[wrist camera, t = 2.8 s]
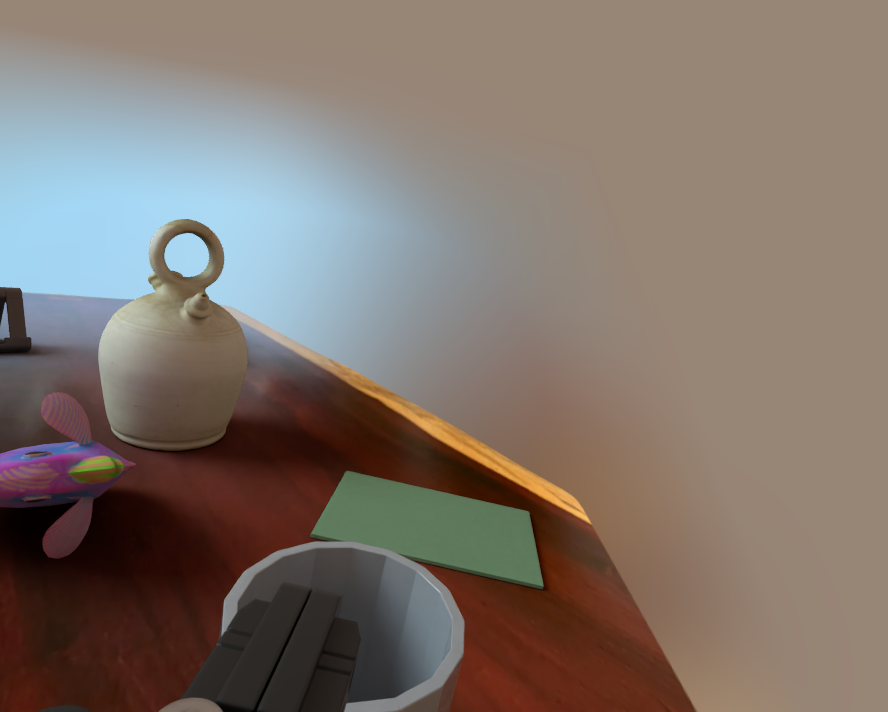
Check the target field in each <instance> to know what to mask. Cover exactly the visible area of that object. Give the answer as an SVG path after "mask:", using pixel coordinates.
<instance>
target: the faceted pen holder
mask: <svg viewBox="0 0 888 712" xmlns="http://www.w3.org/2000/svg"><path fill="white" fill-rule="evenodd" d="M283 582H287V583H291V584H295V585H300V586H304V587H308V588H312V591H313V590H314V589H318V590H322V591H326V592H331V593H335V594H339V595H343V598H342V604H341V609H340V614H339V618H341V619H345V620H350V621H354V622H357V625H358V629H359V634H360V638H361V641H360V646H359V651H358V656H357V660H356V665H355V670H354V674H353V679H352V684H351V688H350V693H349V696H348V700H347V703H346V707H345V711H344V712H449V709H450V705H451V701H452V697H453V693H454V689H455V686H456V682H457V678H458V674H459V670H460V666H461V663H462V659H463V655H464V625H465V622H464V619H463V617H462V615H461V613H460V611H459V609H458V607H457V605H456V603H455V601H454V599H453V597H452V595H451V593H450V591H449V589H448V588H446V587H445V586H444V585H443V584H442V583H441V582H440V581H439V580H438V579H437V578H436V577H435V576H433V575H432V574H431V573H430V572H429V571H428V570H427V569H426V568H425V567H423V566H421V565H419V564H417V563H415V562H413V561H411V560H409V559H407V558H405V557H403V556H401V555H399V554H397V553H395V552H393V551H391V550H388V549H384V548H379V547H375V546H370V545H366V544H361V543H357V542H351V541H349V542H311V543H307V544H303V545H299V546H295V547H291V548H287V549H283V550H279V551H277V552H274V553H273V554H271V555H270V556H268V557H266V558H265V559H263V560H261V561H260V562H258V563H257V564H255V565H253V566H252V567H250V568H249V569H247V570H246V571H244V572H243V574H242V575H241V577H240V578H239V580H238V581H237V582H236V584H235V585H234V587H233V588H232V590H231V591H230V592H229V594H228V595H227V597H226V598H225V600H224V604H223V611H222V618H221V625H220V632H219V639H220V638H221V636H222V635H223V633H224V632H226V629H227V627H228V626H229V624H230V622H231V621H232V619H233V618H234V616H235V615H236V613H237V612H238V611H239V610H240V609H242V608H243V607H244V606H246V605H247V604H249V603H250V602H252V601H253V600H254V599H258V600H262V601H267V602H272V600H273V598H274V596H275V595H276V593H277V591H278V589H279V587H280V586H281V584H282V583H283ZM219 639H218V641H219Z"/></svg>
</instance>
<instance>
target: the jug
mask: <svg viewBox="0 0 888 712" xmlns="http://www.w3.org/2000/svg"><path fill="white" fill-rule="evenodd" d="M183 233H193V234H195V235H197V236H198V237H200V238H201V239H202V240H203V241H204V242H205V244H206V246H207V248H208V251H209V263H208V266H207V268H206V269H205V270H204V272H202V273H201V274H199V275H197V276H194V277H183V276H182V274H180V273H178V272H175V271H170V270H169V268H168V267H167V265H166V263H165V260H164V252H165V248H166V246H167V244H168V242H169V241H170V240H171V239H172V238H174V237H175V236H177V235H179V234H183ZM149 260H150V264H151V267H152V269H153V271H154V273H152V274H151V275H149V277H148V281H149V283H150V284H152V286H153V288H154V290H155V291H156V293H152V294H148V295H145V296H143V297H140V298H138V299H136V300H134V301H132V302H130V303H128V304H127V305H125V306H123V307H122V308H120V309H119V310H118V311H117V312H116V313H115V314H114V315H113V316H112V318H111V320H110V321H109V322H108V324H107V326H106V328H105V330H104V332H103V334H102V337H101V340H100V344H99V351H98V359H99V368H100V376H101V383H102V390H103V396H104V403H105V408H106V413H107V417H108V420H109V423H110V425H111V430H112V432H113V433H114V435H115V436H117V437H118V438H119V439H121V440H122V441H124V442H127V443H130V444H132V445H135V446H139V447H143V448H148V449H155V450H165V451H182V450H190V449H196V448H201V447H205V446H208V445H210V444H213V443H215V442H217V441H218V440H219V439H221V438H222V437H223V436H224V434H225V432H226V427H227V425H228V423H229V421H230V419H231V417H232V414H233V411H234V408H235V405H236V402H237V399H238V396H239V393H240V390H241V387H242V384H243V381H244V378H245V375H246V371H247V365H248V349H247V343H246V339H245V336H244V333H243V331H242V328H241V326H240V325H239V323H238V322H237V320H236V319H235V318H234V317H233V316H232V315H231V314H230V313H229V312H227V311H226V310H225V309H224V308H222V307H221V306H219V305H218V304H216V303H214V302H212V301H211V300H209V297H208V295H207V294H206V292H205V289H206V287H208V286H209V285H211V284H212V283H214V282H215V281H216V280H217V279H218V277H219V276H220V274H221V272H222V269H223V265H224V252H223V248H222V245H221V243H220V241H219V239H218V238H217V236H216V235H215V234H214V233H213V232H212V231H211V230H210V229H209V228H208V227H207V226H205V225H203V224H201V223H199V222H197V221H193V220H189V219H181V220H175V221H172V222H169V223H167V224H165V225H164V226H162V227H161V228H160V229H159V230H158V231H157V232H156V233H155V235H154V236H153V238H152V240H151V242H150V246H149Z"/></svg>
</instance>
